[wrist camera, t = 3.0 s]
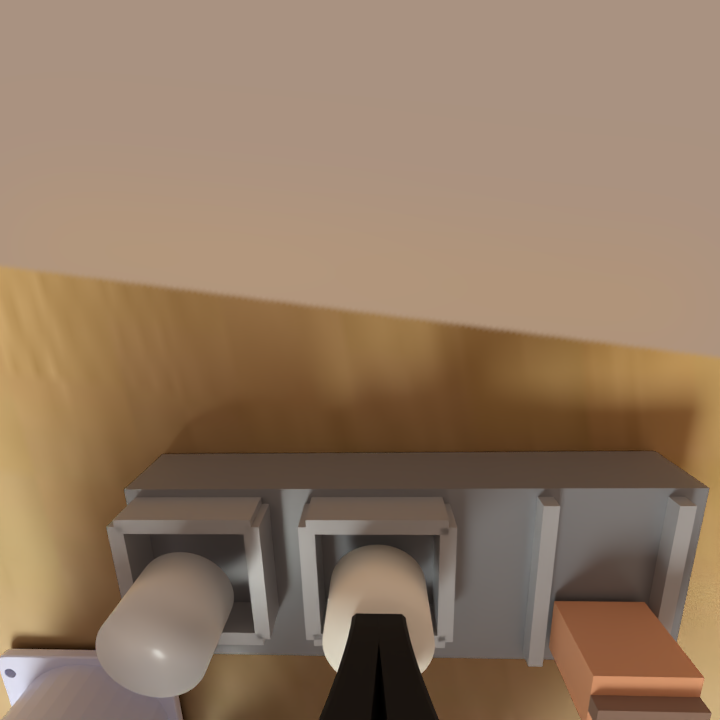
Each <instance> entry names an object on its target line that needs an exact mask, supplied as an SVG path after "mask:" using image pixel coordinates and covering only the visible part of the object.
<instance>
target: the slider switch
mask: <svg viewBox="0 0 720 720" xmlns="http://www.w3.org/2000/svg"><path fill="white" fill-rule="evenodd" d="M549 649H550V651H551V653H552V655H553V658H554V660H555V662H556V664H557V667H558V669H559V671H560V673H561V676H562V678H563V680H564V682H565V684H566V687H567V689H568V691H569V693H570V696H571V698H572V700H573V702H574V705H575V707H576V709H577V711H578V714H579V716H580V718H581V720H710V717H711V712H710V710H709V709H708V708H707V706H706V705H705V704H704V702H703V701H702V699H701V698H700V694H701V690H702V686H703V682H704V677H703V675H702V674H701V673H700V672H699V670H698V669H697V668H696V667H695V665H694V664H693V663H692V662H691V660H690V659H689V658H688V656H687V655H686V654H685V653H684V651H683V650H682V649H681V648H680V646H679V645H678V644H677V642H676V641H675V640H674V639H673V637H672V636H671V635H670V634H669V632H668V631H667V630H666V628H665V627H664V626H663V625H662V623H661V622H660V621H659V620H658V618H657V617H656V616H655V615H654V613H653V612H652V611H651V609H650V608H649V607H648V606H647V604H646V603H645V602H598V601H554V607H553V616H552V624H551V633H550V642H549Z"/></svg>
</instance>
